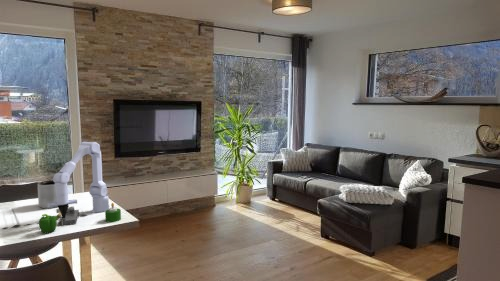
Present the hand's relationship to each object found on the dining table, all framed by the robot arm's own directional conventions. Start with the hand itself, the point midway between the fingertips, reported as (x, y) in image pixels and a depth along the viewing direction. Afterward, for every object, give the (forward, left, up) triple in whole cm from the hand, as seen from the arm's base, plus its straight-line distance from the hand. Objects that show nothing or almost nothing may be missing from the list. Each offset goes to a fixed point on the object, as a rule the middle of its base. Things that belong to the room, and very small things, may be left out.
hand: (63, 217), depth 204 cm
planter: (+11, -42, -3) cm, 44 cm away
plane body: (-3, -6, -3) cm, 7 cm away
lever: (0, -13, 0) cm, 13 cm away
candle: (-26, +4, -3) cm, 26 cm away
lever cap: (+3, -1, -1) cm, 4 cm away
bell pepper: (+6, +12, -3) cm, 14 cm away
